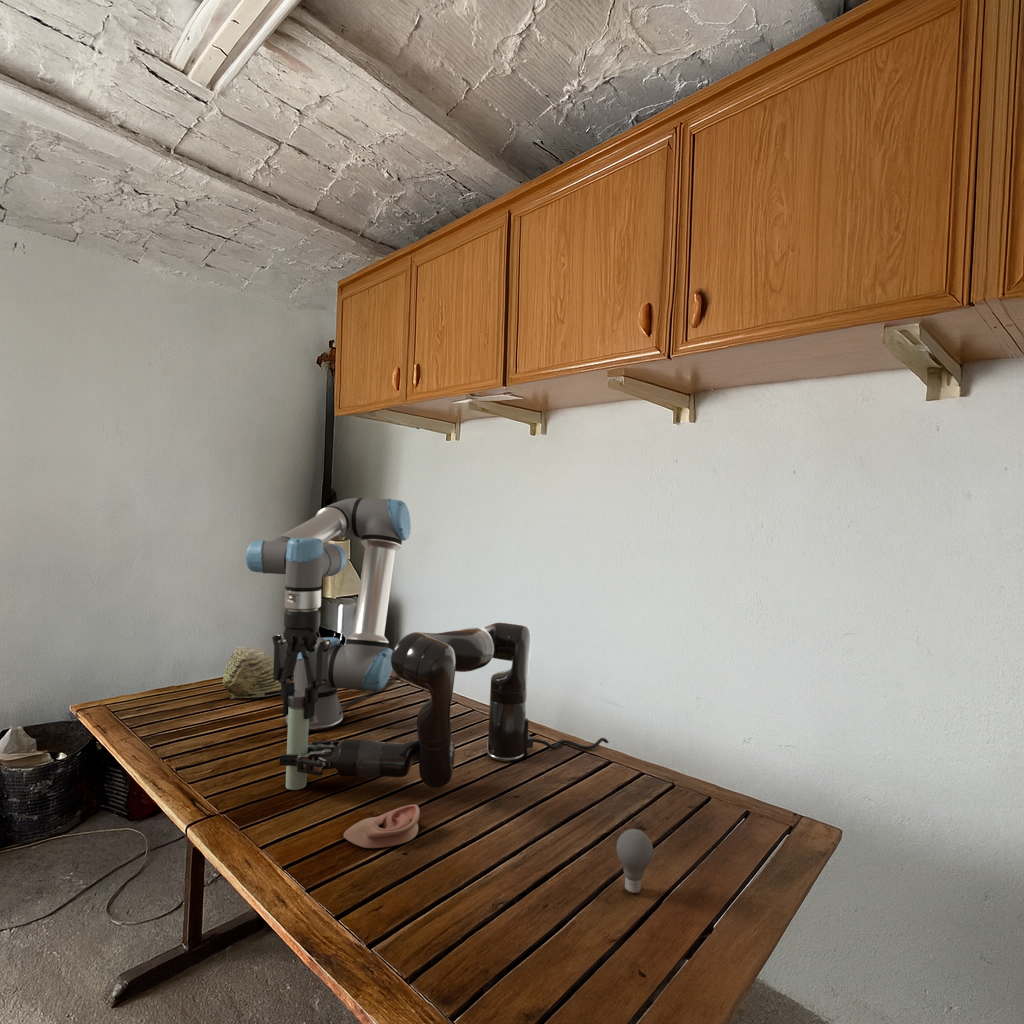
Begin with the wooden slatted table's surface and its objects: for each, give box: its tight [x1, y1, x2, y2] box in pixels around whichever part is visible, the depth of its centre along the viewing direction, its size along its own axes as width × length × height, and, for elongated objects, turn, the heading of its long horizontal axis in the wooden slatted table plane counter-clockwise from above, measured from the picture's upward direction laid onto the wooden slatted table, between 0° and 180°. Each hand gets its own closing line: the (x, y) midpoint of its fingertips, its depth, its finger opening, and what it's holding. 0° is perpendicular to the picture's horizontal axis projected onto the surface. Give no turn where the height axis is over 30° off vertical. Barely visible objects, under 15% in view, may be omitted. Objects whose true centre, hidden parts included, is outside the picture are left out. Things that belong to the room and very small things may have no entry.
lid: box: [287, 691, 305, 708], centre depth 138 cm, size 5×5×2 cm
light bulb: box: [615, 828, 654, 894], centre depth 106 cm, size 6×6×10 cm
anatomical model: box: [342, 804, 421, 849], centre depth 120 cm, size 13×4×12 cm
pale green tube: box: [285, 707, 309, 791], centre depth 138 cm, size 4×4×20 cm
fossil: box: [222, 646, 281, 699], centre depth 198 cm, size 9×18×15 cm, turn 132°
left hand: (298, 715), depth 138 cm, fingers closed on lid, 5 cm apart
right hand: (284, 755), depth 138 cm, fingers closed on pale green tube, 4 cm apart
